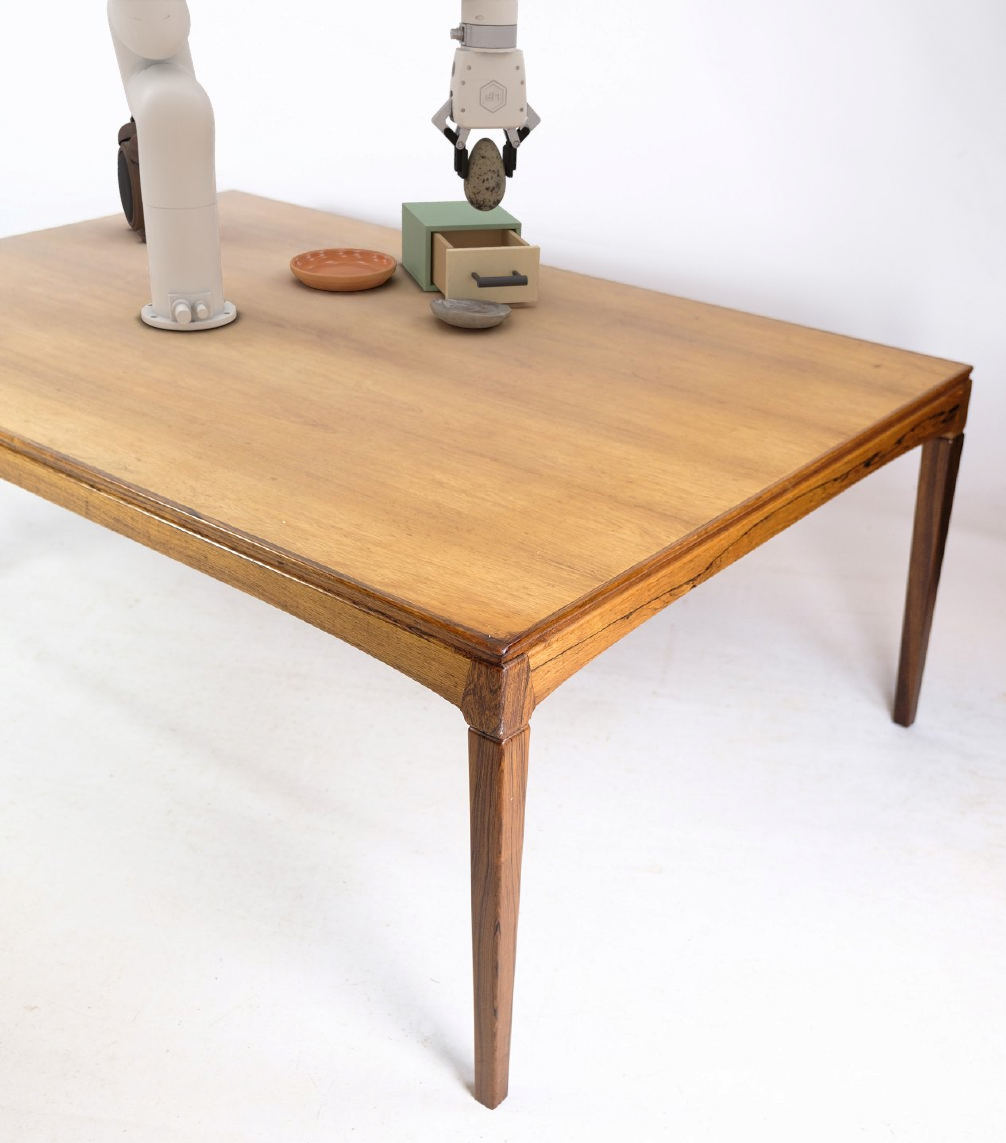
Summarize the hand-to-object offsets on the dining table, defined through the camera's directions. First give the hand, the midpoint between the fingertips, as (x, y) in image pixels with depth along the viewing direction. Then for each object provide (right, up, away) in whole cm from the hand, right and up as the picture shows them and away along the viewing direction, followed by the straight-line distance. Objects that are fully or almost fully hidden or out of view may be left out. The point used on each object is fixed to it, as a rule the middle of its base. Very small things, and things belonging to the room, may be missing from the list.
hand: (485, 175), depth 181 cm
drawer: (0, -15, +7) cm, 17 cm away
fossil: (-2, -21, -3) cm, 22 cm away
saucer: (-22, -12, +14) cm, 28 cm away
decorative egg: (0, -5, +2) cm, 5 cm away
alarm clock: (-57, 0, +34) cm, 66 cm away
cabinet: (-4, -10, +19) cm, 22 cm away
